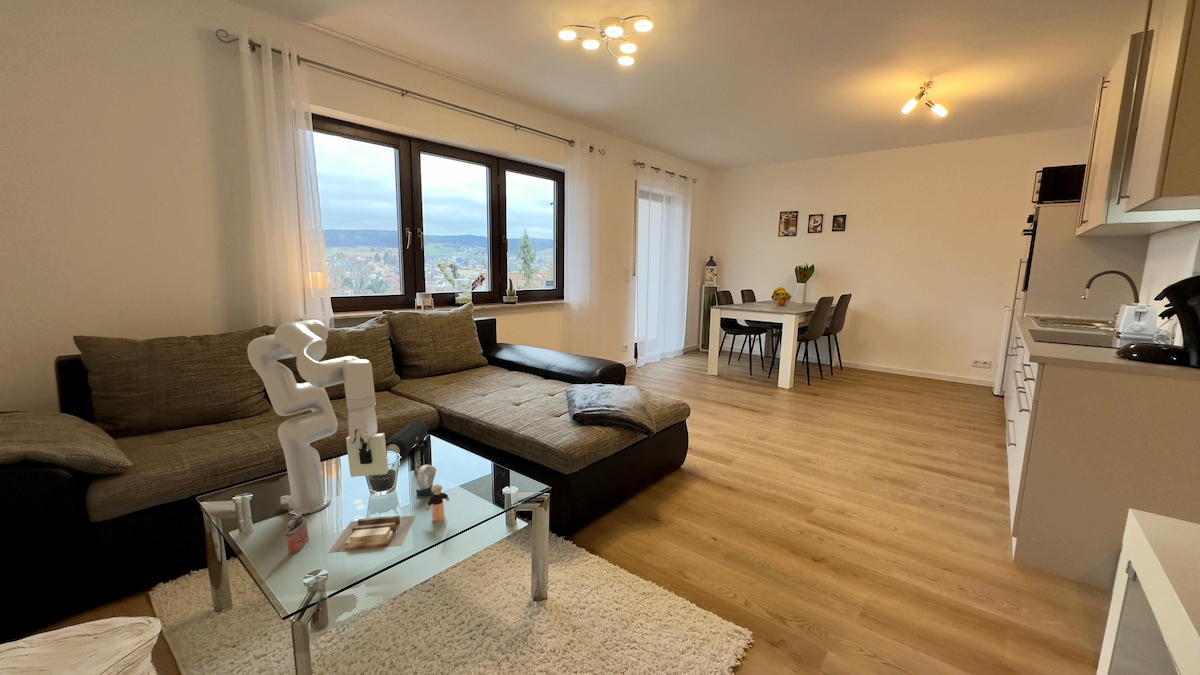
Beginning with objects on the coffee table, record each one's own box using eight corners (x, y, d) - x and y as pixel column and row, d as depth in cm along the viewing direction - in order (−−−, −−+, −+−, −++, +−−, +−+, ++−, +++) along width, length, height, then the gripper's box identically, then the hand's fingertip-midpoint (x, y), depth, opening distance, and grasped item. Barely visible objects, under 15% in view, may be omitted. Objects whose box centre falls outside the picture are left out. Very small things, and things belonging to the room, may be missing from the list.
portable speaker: (404, 463, 192) (401, 440, 190) (381, 463, 193) (378, 440, 191) (430, 439, 217) (428, 418, 215) (409, 439, 218) (407, 419, 216)
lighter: (301, 541, 139) (296, 510, 137) (313, 540, 139) (308, 509, 138) (285, 558, 131) (280, 525, 129) (298, 557, 131) (292, 524, 130)
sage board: (350, 476, 138) (345, 438, 136) (353, 473, 140) (349, 435, 138) (386, 474, 139) (381, 436, 137) (388, 470, 141) (384, 433, 139)
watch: (440, 490, 168) (437, 461, 166) (429, 501, 160) (425, 471, 158) (426, 489, 169) (423, 460, 167) (414, 500, 161) (410, 470, 159)
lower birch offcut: (345, 548, 133) (344, 543, 133) (350, 539, 137) (350, 535, 137) (388, 543, 135) (388, 538, 134) (393, 535, 139) (392, 530, 138)
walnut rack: (328, 556, 131) (326, 544, 131) (351, 524, 147) (349, 514, 146) (402, 548, 134) (400, 537, 133) (416, 518, 149) (415, 508, 149)
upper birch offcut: (350, 542, 133) (349, 537, 133) (355, 535, 137) (354, 530, 137) (386, 538, 135) (386, 533, 134) (390, 531, 138) (390, 526, 138)
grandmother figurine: (434, 528, 143) (430, 490, 141) (426, 525, 145) (422, 487, 143) (454, 516, 150) (450, 479, 148) (446, 513, 152) (442, 477, 150)
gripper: (358, 394, 143) (365, 451, 146) (335, 411, 127) (343, 474, 130) (383, 393, 144) (390, 449, 147) (364, 409, 128) (372, 472, 131)
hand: (368, 460), depth 139 cm, fingers closed on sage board, 2 cm apart
